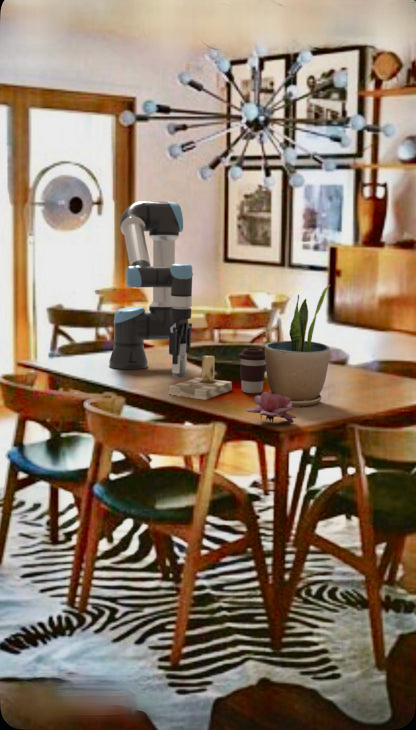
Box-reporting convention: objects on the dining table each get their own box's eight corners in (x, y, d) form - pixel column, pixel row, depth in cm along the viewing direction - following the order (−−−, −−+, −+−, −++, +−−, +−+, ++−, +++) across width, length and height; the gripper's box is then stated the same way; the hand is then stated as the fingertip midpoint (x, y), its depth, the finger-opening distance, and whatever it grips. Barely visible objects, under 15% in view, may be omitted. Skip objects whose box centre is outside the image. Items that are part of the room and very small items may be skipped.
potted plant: (281, 411, 325) (286, 287, 319) (252, 398, 345) (256, 280, 338) (338, 407, 334) (344, 286, 327) (306, 394, 353) (311, 280, 346)
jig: (196, 385, 364) (196, 377, 363) (231, 390, 357) (231, 381, 357) (169, 394, 346) (169, 386, 346) (205, 399, 340) (205, 390, 339)
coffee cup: (233, 389, 359) (234, 347, 356) (258, 388, 362) (259, 346, 360) (245, 395, 350) (246, 352, 347) (270, 393, 354) (272, 351, 351)
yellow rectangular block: (204, 388, 359) (205, 355, 357) (215, 389, 357) (216, 356, 355) (199, 390, 355) (199, 356, 353) (210, 391, 353) (211, 358, 351)
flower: (276, 422, 296) (279, 388, 297) (237, 420, 306) (241, 388, 307) (305, 429, 307) (309, 397, 308) (268, 427, 317) (271, 396, 318)
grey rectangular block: (176, 374, 368) (177, 341, 365) (187, 375, 366) (188, 343, 363) (170, 376, 364) (171, 343, 361) (181, 377, 362) (182, 344, 359)
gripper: (183, 303, 369) (181, 366, 374) (159, 309, 354) (158, 374, 358) (201, 305, 366) (199, 369, 370) (178, 311, 351) (176, 377, 355)
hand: (179, 371), depth 364 cm, fingers closed on grey rectangular block, 4 cm apart
